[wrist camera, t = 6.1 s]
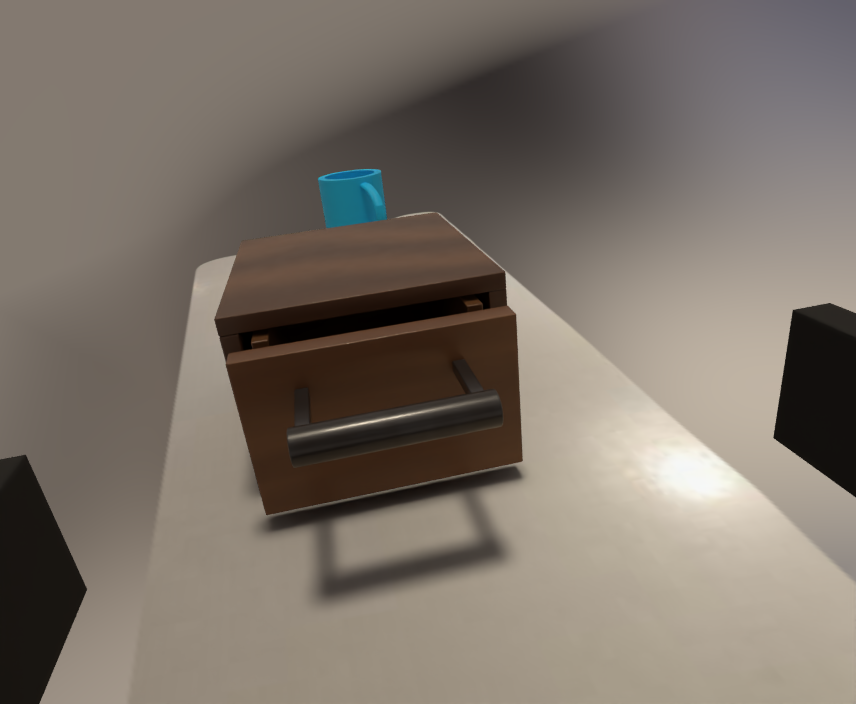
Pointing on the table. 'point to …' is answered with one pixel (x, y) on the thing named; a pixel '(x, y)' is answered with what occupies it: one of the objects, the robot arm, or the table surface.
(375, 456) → the drawer
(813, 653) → the table surface
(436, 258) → the cabinet
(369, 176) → the mug
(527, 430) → the table surface
